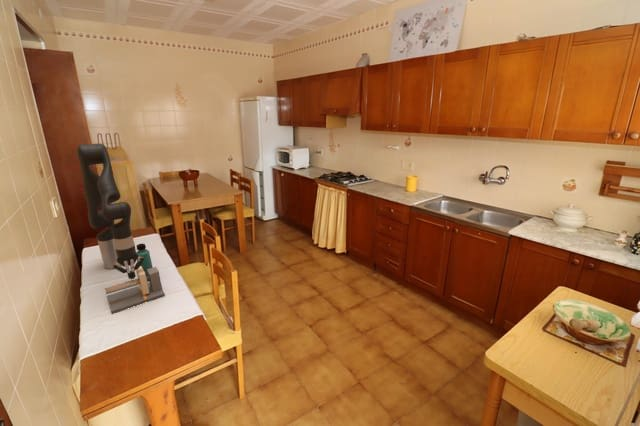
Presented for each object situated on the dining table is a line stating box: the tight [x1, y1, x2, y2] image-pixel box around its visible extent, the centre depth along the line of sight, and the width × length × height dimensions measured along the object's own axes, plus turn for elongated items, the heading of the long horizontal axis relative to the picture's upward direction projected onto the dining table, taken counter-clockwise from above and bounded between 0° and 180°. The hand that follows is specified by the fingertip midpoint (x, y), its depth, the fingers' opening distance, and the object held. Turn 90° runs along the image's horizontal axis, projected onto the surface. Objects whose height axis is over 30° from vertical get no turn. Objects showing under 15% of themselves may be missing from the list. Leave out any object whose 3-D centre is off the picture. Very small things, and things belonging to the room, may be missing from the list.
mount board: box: [106, 266, 166, 315], centre depth 145 cm, size 15×22×12 cm
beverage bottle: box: [136, 243, 154, 276], centre depth 159 cm, size 6×7×20 cm
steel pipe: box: [104, 275, 150, 296], centre depth 143 cm, size 3×19×3 cm, turn 130°
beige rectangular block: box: [135, 266, 149, 295], centre depth 146 cm, size 9×2×11 cm, turn 40°
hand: (132, 278), depth 143 cm, fingers closed
